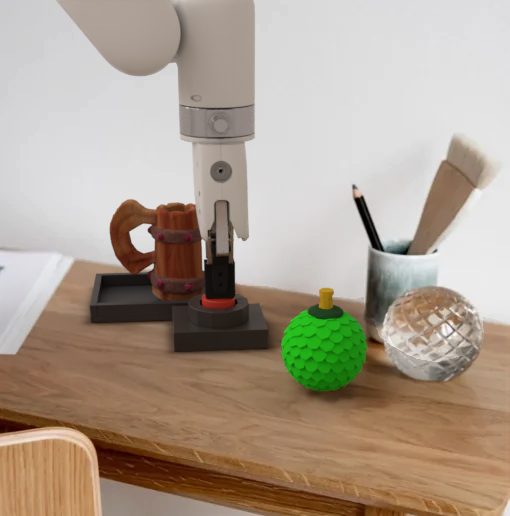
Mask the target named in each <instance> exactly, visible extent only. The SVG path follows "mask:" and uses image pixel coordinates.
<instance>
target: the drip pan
mask: <svg viewBox="0 0 510 516" xmlns="http://www.w3.org/2000/svg"><path fill="white" fill-rule="evenodd" d="M148 272H149V271H141V272H139V273H138V274H136V275H133V274H131V273H130V272H105V273H104V272H103V273H101V272H100V273H95V276H94V283H93V287H92V292H91V297H90V303H89V314H90V315H89V316H90V323H116V322H117V323H119V322H148V321H151V322H152V321H173V319H172V306H188V300H181V301H162V300H160V299H159V298H157V297H156V296H155V295H154V294H153V292H152V283H151V279H149V278H148V277H147V273H148ZM204 293H205V287H204V288H203V294H204Z"/></svg>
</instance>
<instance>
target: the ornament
mask: <svg viewBox="0 0 510 516" xmlns="http://www.w3.org/2000/svg"><path fill="white" fill-rule="evenodd" d="M334 294H335V291H334V288H331V287H321V288H320V289H318V295H319V302H318V303H316V304H314V305H312V306H310V307H309V308H308V309H306V310H303V311H301V312H299V314H298V315H296V316H294V317H293V318H292V319H291V320H290V321H289V323H290V324H288V326H287V327H286V328H285V330H284V331H283V335H284V336H283V337H282V338H281V343H280V344H281V345H280V347H281V352H280V354H281V357H282V360H283V366H284V367H285V369H286V371H287V372H288V373H289V375H290V377H291V378H293V380H294V381H295V382H296V383H299V384H300V385H301V386H303V387H304V388H306V389H307V390H309V389H311V390H313V391H315V392H329V391H338V390H339V389H340V388H342V387H344V388H345V387H346V386H347V385H348V384H349V383H351V382H353V381H355V378H356V376H357V375H360V373H361V371H362V369H363V364H364V363H365V364H366V358H367V354H366V351H368V344H367V342H366V341H367V337H366V335H365V331H364V330H363V327H362V325H360V323H359V321H358V320H356V318H354V317H353V316H352V315H351V314H349V312H348V311H346V310H344V309H342V308H341V307H340V306H338V305H336V304H334V301H333V296H334Z"/></svg>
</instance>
